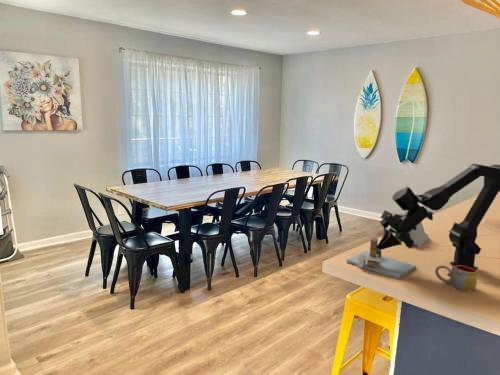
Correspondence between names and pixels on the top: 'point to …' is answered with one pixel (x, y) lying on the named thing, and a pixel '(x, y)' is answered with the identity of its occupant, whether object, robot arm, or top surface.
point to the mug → (460, 277)
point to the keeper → (363, 258)
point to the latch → (373, 252)
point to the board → (386, 266)
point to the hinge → (418, 235)
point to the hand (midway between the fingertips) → (378, 248)
